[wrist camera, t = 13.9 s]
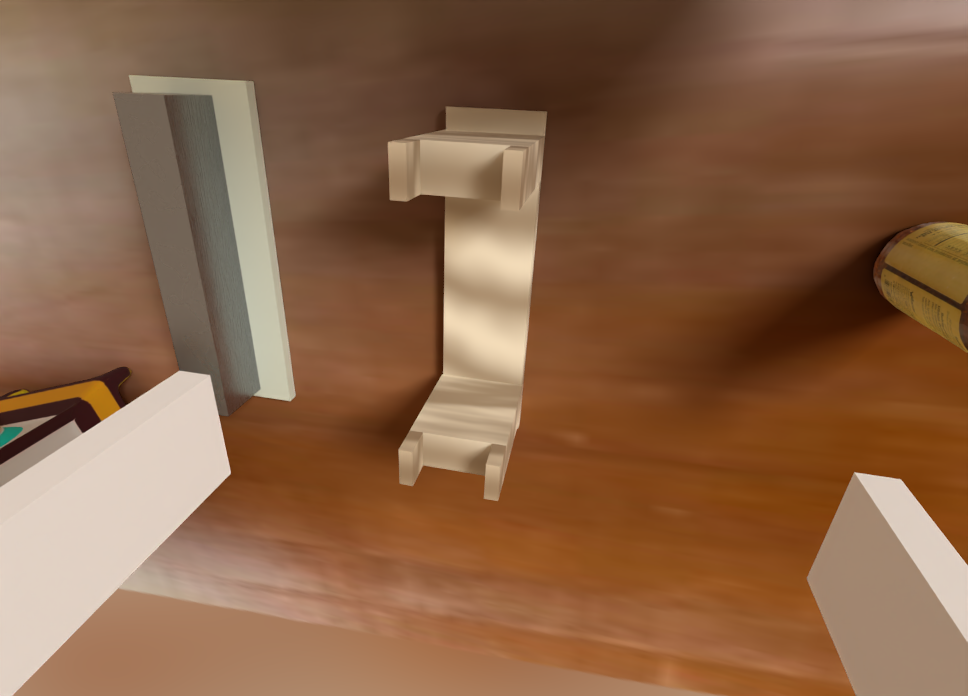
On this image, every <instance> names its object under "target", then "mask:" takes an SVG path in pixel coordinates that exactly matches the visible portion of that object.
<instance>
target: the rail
mask: <svg viewBox="0 0 968 696" xmlns="http://www.w3.org/2000/svg"><path fill="white" fill-rule="evenodd" d="M113 96H114V100H115V104H116V109H117V113H118V117H119V121H120V125H121V129H122V133H123V138H124V142H125V146H126V150H127V154H128V158H129V163H130V167H131V171H132V175H133V179H134V183H135V187H136V192H137V196H138V200H139V204H140V208H141V212H142V217H143V221H144V225H145V229H146V233H147V237H148V241H149V246H150V250H151V254H152V258H153V262H154V266H155V271H156V275H157V279H158V283H159V287H160V291H161V295H162V300H163V304H164V308H165V312H166V316H167V320H168V325H169V329H170V333H171V337H172V341H173V345H174V349H175V354H176V358H177V362H178V366H179V370H180V371H185V372H192V373H198V374H205V375H210V377H211V382H212V387H213V391H214V396H215V401H216V405H217V410H218V415H223V416H230V415H231V414H232V413H233V412H234V411H236V410H237V409H238V408H239V407H240V406H241V405H243V404H244V403H245V402H246V401H247V400H248V399H250V398H251V397H252V396H253V395H254V394H255V393H257V392H258V391H259V390H260V389H261V388H260V382H259V376H258V370H257V363H256V357H255V351H254V345H253V339H252V333H251V327H250V321H249V315H248V309H247V303H246V297H245V291H244V285H243V279H242V273H241V267H240V261H239V255H238V249H237V243H236V237H235V231H234V225H233V219H232V213H231V207H230V201H229V195H228V189H227V183H226V177H225V171H224V165H223V159H222V153H221V147H220V140H219V134H218V128H217V122H216V116H215V110H214V104H213V98H212V95H199V94H181V93H145V92H113Z"/></svg>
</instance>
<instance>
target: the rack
mask: <svg viewBox="0 0 968 696" xmlns="http://www.w3.org/2000/svg"><path fill="white" fill-rule="evenodd" d="M546 119H547V112H545V111H527V110H508V109H490V108H472V107H453V106H448V107H446V130H441V131H436V132H431V133H427V134H422V135H417V136H413V137H408V138H404V139H399V140H394V141H390V142H388V163H389V191H390V200H395V201H409V200H411V199H413V198H415V197H416V196H418V195H420V194H423V195H435V196H445V253H444V347H443V374H442V375H441V377H440V379H439V381H438V382H437V384H436V386H435V387H434V389H433V391H432V393H431V394H430V396H429V398H428V400H427V401H426V403H425V405H424V407H423V408H422V410H421V412H420V413H419V415H418V417H417V419H416V420H415V422H414V424H413V426H412V427H411V429H410V431H409V433H408V434H407V436H406V438H405V439H404V441H403V443H402V445H401V446H400V448H399V478H400V484H405V485H410V486H413V485H414V483H415V481H416V479H417V477H418V475H419V473H420V471H421V468H422V466H423V465H425V466H431V467H437V468H443V469H449V470H455V471H461V472H466V473H472V474H478V475H484V476H485V490H484V499H490V500H495V501H498V499H499V495H500V491H501V488H502V484H503V480H504V476H505V472H506V468H507V464H508V461H509V457H510V453H511V449H512V445H513V441H514V437H515V433H516V430H517V429H518V427H519V423H520V414H521V403H522V391H523V380H524V369H525V357H526V346H527V335H528V323H529V312H530V301H531V289H532V278H533V267H534V255H535V244H536V233H537V221H538V210H539V199H540V187H541V176H542V165H543V153H544V142H545V131H546Z"/></svg>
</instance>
